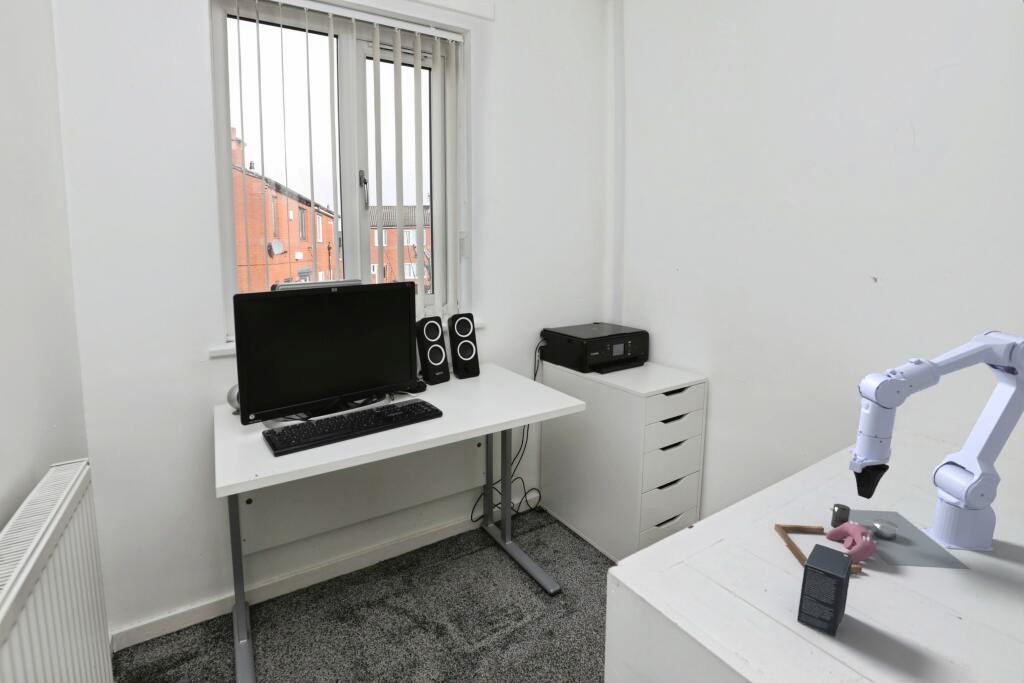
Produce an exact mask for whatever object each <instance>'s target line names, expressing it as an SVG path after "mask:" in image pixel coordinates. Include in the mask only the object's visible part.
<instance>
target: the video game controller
mask: <svg viewBox="0 0 1024 683" xmlns="http://www.w3.org/2000/svg"><path fill="white" fill-rule="evenodd" d="M825 538H826V539H827V540H829V541H834V542H839V541H843V540H844V542H843V546H844V548H846V549H848V550H847V551H846V552H845V553H847V554H850V555H852V556H853V558H852V565H857V564H858V563H861V562H863V561H864V560H866V559H867V558H870V557H872V556H873V555H874V553H876V552H875V550H876V544H875V543H874V542H873V538H872V536H871V534H870V532H869V531H868V530H867V529H866V528H865V527H863V526H862V525H860V524H858V523H856V522H852V521H850V522H846V523H844V524H842V525H841V526H839V527H836V528H834V527H833V528H832V529H831V530H828V531H827V533H826V535H825Z"/></svg>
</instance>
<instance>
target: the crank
mask: <svg viewBox="0 0 1024 683" xmlns="http://www.w3.org/2000/svg"><path fill="white" fill-rule="evenodd" d="M832 509H833V512H832V515H831V516H832V517H831V521H830V526H831V527H832V528H833V529H834V528H836V527H839V526H841V525H842V524H844V523H846V522H850V521H852V522H856V523H858V524H860V525H862V526H863V527H865V528H866V529H867V530H871V532H872V533H873V534H874V535H876V536H878V537H880V538H884V539H889V540H893V539H896V536H897V530H898V526H897V525H896V524H894V523H892V522H890V521H887V520H883V519H874V520H873V522H869V521H856V520H849V515H850V509H851V508H850V507H849V506H848V505H846V504H843V503H835V504H833V507H832Z"/></svg>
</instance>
